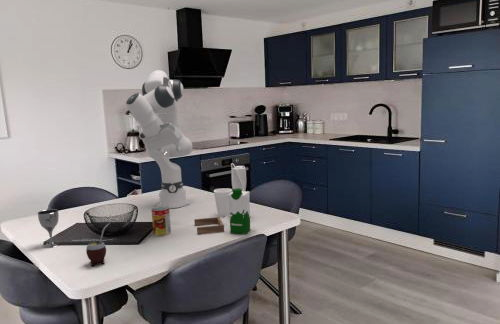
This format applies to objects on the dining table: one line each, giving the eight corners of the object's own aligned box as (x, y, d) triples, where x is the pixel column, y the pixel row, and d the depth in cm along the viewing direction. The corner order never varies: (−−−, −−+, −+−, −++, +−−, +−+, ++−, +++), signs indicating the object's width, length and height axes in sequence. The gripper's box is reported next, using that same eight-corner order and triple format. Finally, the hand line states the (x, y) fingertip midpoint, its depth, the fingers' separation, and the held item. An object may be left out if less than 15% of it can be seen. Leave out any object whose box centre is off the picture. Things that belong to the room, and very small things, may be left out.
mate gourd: (83, 265, 158) (79, 227, 156) (98, 258, 166) (94, 221, 163) (99, 268, 156) (95, 229, 153) (113, 260, 163) (110, 222, 161)
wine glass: (48, 249, 178) (44, 215, 175) (37, 246, 182) (33, 212, 179) (65, 243, 184) (62, 210, 182) (54, 240, 188) (51, 208, 186)
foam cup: (234, 212, 225) (233, 188, 223) (231, 217, 215) (230, 192, 213) (216, 212, 225) (215, 188, 223) (213, 217, 216) (212, 192, 214)
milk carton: (228, 233, 189) (225, 190, 186) (235, 227, 198) (233, 185, 195) (246, 235, 186) (244, 191, 183) (252, 228, 195) (251, 186, 192)
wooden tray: (194, 225, 204) (194, 219, 203) (219, 222, 206) (219, 216, 206) (197, 234, 190) (197, 228, 189) (224, 231, 192) (223, 225, 192)
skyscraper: (229, 219, 211) (227, 164, 207) (236, 215, 218) (233, 161, 214) (245, 220, 208) (242, 164, 204) (251, 216, 215) (249, 162, 211)
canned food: (155, 230, 198) (153, 205, 196) (172, 230, 197) (170, 205, 195) (151, 236, 190) (149, 210, 188) (168, 235, 190) (166, 209, 188)
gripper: (173, 117, 181) (191, 143, 186) (144, 129, 193) (161, 153, 198) (165, 125, 176) (184, 151, 181) (136, 137, 188) (154, 161, 194)
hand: (172, 152), depth 190 cm, fingers open, 8 cm apart
